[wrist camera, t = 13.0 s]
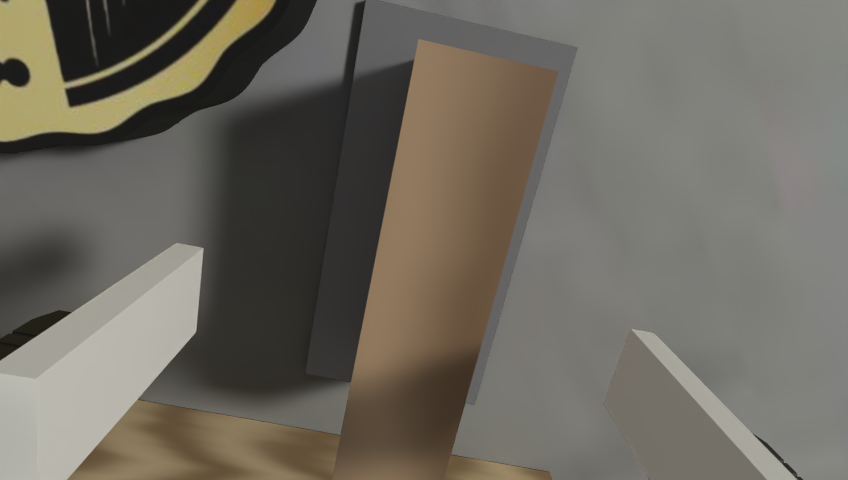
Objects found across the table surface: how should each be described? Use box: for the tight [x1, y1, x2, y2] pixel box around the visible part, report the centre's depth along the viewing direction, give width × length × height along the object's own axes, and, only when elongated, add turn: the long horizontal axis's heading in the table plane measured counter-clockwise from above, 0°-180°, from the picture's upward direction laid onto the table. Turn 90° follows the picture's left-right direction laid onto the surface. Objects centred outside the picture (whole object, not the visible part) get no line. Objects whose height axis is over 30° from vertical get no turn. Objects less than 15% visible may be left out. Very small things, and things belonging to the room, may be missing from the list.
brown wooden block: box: [332, 39, 559, 480], centre depth 21 cm, size 4×16×10 cm, turn 168°
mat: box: [305, 0, 578, 405], centre depth 26 cm, size 10×20×1 cm, turn 168°
